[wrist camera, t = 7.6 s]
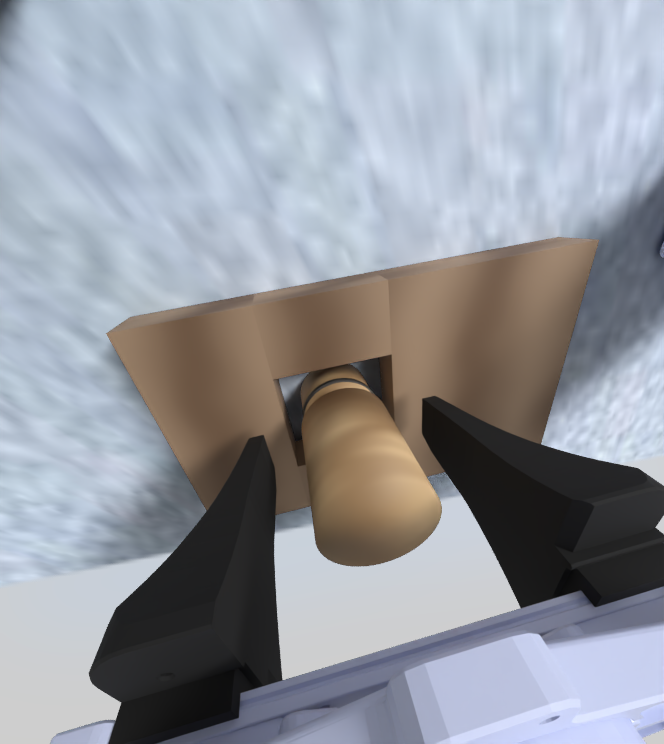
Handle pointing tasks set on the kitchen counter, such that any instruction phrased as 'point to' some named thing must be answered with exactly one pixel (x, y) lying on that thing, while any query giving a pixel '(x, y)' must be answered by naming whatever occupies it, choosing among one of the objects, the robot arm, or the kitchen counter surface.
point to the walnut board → (361, 354)
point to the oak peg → (361, 473)
